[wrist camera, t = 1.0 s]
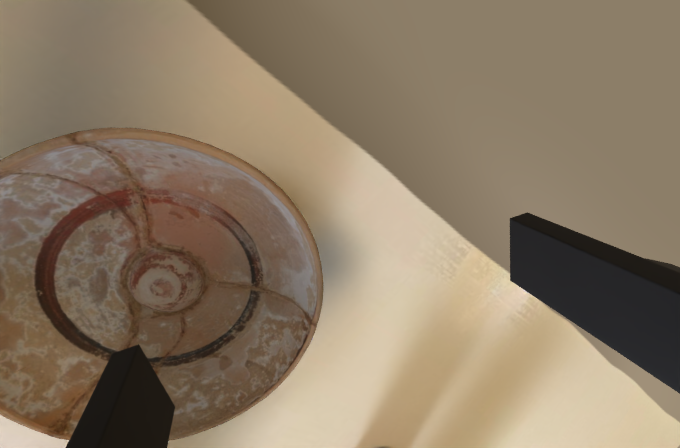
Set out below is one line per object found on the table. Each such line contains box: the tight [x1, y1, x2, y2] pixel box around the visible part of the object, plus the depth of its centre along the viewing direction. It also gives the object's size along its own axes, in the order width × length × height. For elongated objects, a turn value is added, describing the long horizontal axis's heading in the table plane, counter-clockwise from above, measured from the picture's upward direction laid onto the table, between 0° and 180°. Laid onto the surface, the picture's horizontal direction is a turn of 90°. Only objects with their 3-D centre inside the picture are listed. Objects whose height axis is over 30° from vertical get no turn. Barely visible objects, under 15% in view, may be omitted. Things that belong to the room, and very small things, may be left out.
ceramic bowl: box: [0, 128, 323, 440], centre depth 24 cm, size 23×24×5 cm
